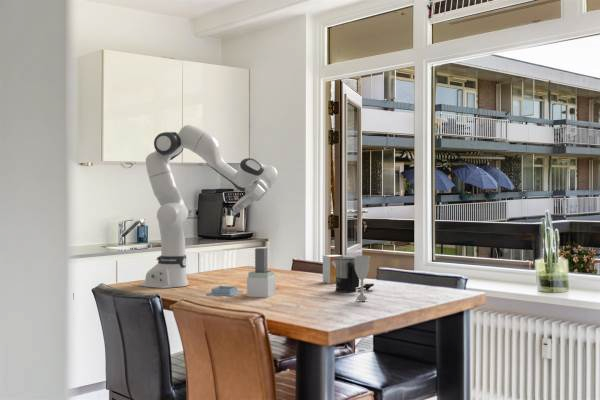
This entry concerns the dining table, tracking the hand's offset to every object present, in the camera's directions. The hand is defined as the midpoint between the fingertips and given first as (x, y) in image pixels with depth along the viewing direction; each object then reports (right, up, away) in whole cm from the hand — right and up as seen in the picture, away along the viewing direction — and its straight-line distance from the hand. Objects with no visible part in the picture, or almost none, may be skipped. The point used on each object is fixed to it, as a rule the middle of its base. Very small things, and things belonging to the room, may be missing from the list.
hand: (238, 210), depth 279 cm
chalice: (+52, -37, -24) cm, 68 cm away
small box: (+43, -36, +26) cm, 62 cm away
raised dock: (+11, -36, -10) cm, 39 cm away
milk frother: (+52, -36, +1) cm, 63 cm away
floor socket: (-6, -36, -5) cm, 37 cm away
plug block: (+11, -28, -10) cm, 32 cm away
